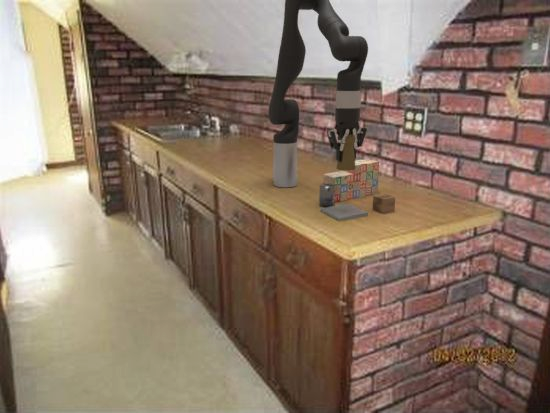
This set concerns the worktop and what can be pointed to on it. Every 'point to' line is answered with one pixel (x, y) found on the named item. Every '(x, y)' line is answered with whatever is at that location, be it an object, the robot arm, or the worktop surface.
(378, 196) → the walnut block
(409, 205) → the worktop surface
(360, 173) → the stack of blocks
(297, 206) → the worktop surface
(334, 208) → the slate tile
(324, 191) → the metal tin
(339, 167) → the brown rounded figure
